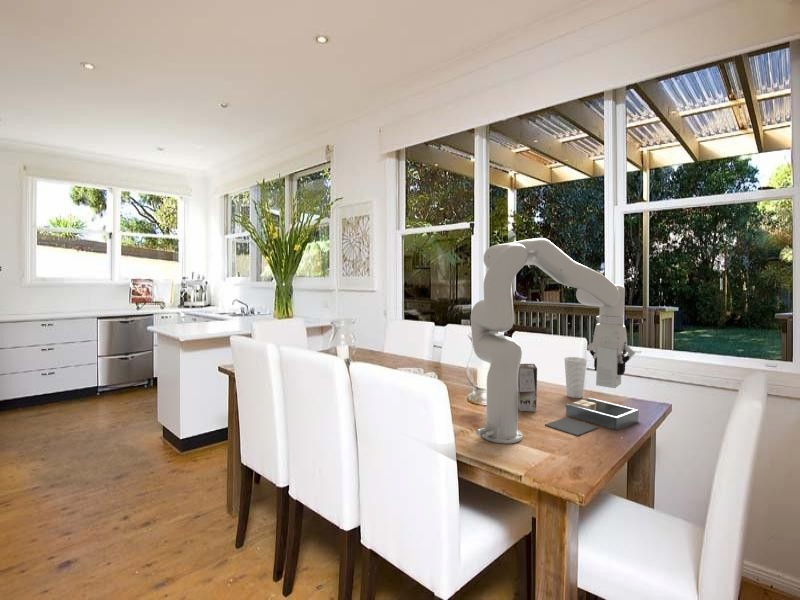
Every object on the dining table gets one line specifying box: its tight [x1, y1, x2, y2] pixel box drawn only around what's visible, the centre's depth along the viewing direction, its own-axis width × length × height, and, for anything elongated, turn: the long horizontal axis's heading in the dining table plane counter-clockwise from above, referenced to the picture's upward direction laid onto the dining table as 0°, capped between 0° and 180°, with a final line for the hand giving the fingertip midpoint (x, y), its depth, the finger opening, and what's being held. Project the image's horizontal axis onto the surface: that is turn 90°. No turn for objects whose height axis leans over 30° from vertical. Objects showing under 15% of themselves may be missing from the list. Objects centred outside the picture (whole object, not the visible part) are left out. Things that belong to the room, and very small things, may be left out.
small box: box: [595, 347, 622, 389], centre depth 151 cm, size 8×6×13 cm
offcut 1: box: [572, 399, 588, 407], centre depth 161 cm, size 6×2×4 cm, turn 126°
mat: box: [544, 416, 600, 437], centre depth 146 cm, size 12×12×1 cm
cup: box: [564, 356, 587, 399], centre depth 181 cm, size 8×8×16 cm
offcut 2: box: [581, 402, 596, 411], centre depth 159 cm, size 6×2×4 cm, turn 126°
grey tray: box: [565, 397, 640, 431], centre depth 155 cm, size 14×18×4 cm
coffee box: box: [518, 363, 538, 413], centre depth 167 cm, size 9×6×16 cm
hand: (609, 371), depth 151 cm, fingers closed on small box, 7 cm apart
